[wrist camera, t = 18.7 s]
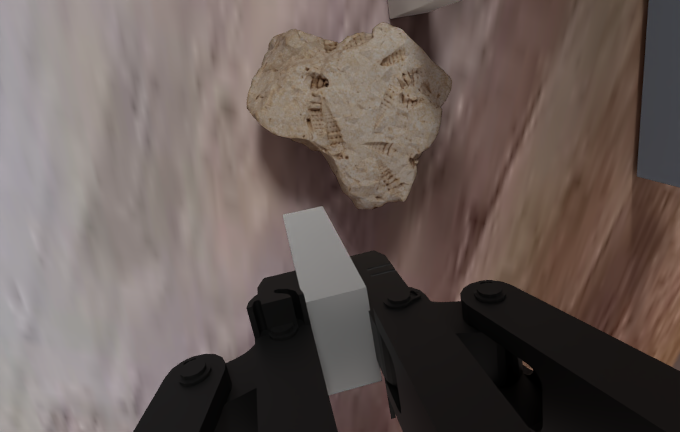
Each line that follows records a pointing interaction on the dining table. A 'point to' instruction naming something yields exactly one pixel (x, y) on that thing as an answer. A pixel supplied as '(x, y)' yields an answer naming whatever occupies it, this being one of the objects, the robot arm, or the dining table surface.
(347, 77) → the stone
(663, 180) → the door
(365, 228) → the dining table surface
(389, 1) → the pair of grey bars
